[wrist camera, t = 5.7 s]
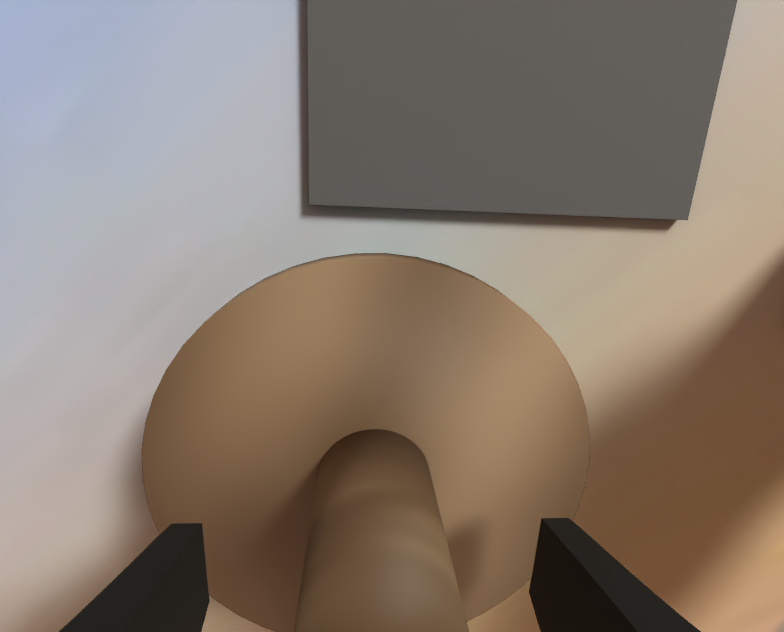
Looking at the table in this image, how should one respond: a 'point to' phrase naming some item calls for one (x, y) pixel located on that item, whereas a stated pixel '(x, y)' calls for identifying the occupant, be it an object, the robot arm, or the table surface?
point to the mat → (513, 104)
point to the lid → (366, 446)
